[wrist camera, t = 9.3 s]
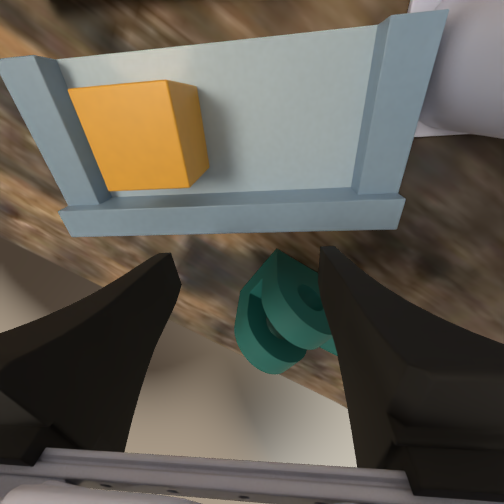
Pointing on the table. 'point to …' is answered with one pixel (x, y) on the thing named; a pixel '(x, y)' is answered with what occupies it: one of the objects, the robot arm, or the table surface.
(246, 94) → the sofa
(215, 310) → the table surface
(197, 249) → the table surface
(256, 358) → the bracket
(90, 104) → the block
